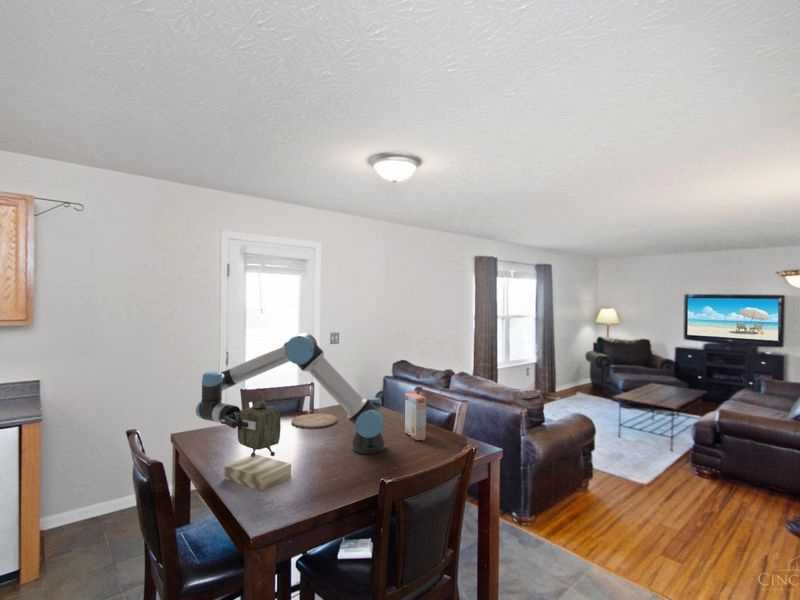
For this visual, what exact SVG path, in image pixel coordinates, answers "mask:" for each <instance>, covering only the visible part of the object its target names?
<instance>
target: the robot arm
mask: <svg viewBox="0 0 800 600" xmlns="http://www.w3.org/2000/svg"><path fill="white" fill-rule="evenodd" d="M324 355H325V352H324V351H323V349H322V348H321V347H320V346H319V345H318V343H317V339H316V338H315V337H314V336H313V335H312V334H310V333H307V332H304V333H299V334H295V335H293V336H291V338H290V339H289V340H287V341H285V342H284V343H283V345H282V346H279V347H277V348H275V349H272V350H271V351H268V352H265V353H263V354H260V355H258V356H257V357H255V358H252V359H250V360H247V361H244V362H243V363H240V364H238V365H235V366H233V367H230V368H229V369H227V370H224V371H221V372H220V371H208V372H204V373H203V374H202V378H201V379H202V380H201V401H200V402H198V404H197V406H196V407H195V414H196V416H197V417H198V418H200V419H203V420H205V421H209V422H210V421H211V422H215V423H219V424H221V425H226V426H228V427H229V428H231V429H236V428H237V430H238V429H241V427H243V428H247V429H252V430H256V422H254V421H249V420H241V419H240V418H238V417H239V413H240V412H241V411H242V410H243V409H242V410H241V409H240V407H239V406H238V405H234V404H229V403H222V398H223V392H224V391H225V390H227V389H229V388H231V387H234V386H236V385H238V384H240V383H242V382H245V381H247V380H250V379H253V378H254V377H256V376H259V375H261V374H263V373H266V372H268V371H271V370H273V369H275V368H278V367H280V366H282V365H284V364H287V363H289V362H291V363H293V364H294V365H296V366H298V368H299V369H300V370H301V371H303V372H308V373H309V374H310V375H311V376H312V377H313V378H314V379H315V380H316V381H317V382H318V383H319V384H320V386H322V388H323V389H324V390H325V391H326V392H327V393H328V394H329V395H330V396H331V397H332V398H333V399H334V400H335V401H336V402H337V403H338V404H339V405H340V406H341V408H342V409H344V410H345V412H346V413H347V417H346V419H348V420H349V421H350V423H352V424H353V426H354V427H355V434H354V436H353V439H352V443H351V450H352V451H353V452H355V453H358V454H361V455H362V454H363V455H370V454H371V455H372V454H373V453H374V454H377V453H381V452H383V451H384V450H385V448H386V443H385V440H384V436H383V433H382V431H383V429H384V425H385V424H384V422H385V421H384V416H383V412H382V405H383V402H382V399H381V398H379V397H362V396H361V395H360V394H359V393H358V392H357V391H356V390H355V389H354V388H353V386H352V385H351V384H350V383H348V381H347V380H346V379H345V378H344V377H343V376H342V375H341V374H340V373H339V372H338V370H337V369H336V368H335V367H334V366H332V364H331V363H330V362H329V361H328V360H327V359H326V358H325V356H324ZM382 450H383V451H382ZM380 451H381V452H380ZM374 454H373V455H374Z"/></svg>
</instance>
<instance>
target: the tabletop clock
mask: <svg viewBox="0 0 800 600" xmlns="http://www.w3.org/2000/svg"><path fill="white" fill-rule="evenodd" d="M257 391H260V392H262V393H263V394H264V397H262V396H261V395H259V396H257V395H256V392H257ZM253 396H254V398H255V399H257V401H254V403H253V404H252V405H251V406H250V407H247V408H243V409H242V411H241V412H240V413H239V417H238V418H240V419H241V420H249V421H254V422H256V430H252V429H247V428H243V427H241V429H238V428H237V439H238V440H237V441H238V443H239V444H240V445H241V446H245V447H247V448H249V449H252V452H251V454H250V456H251V457H255V454H256V450H262V449H267V450H268V451H269V452H270V456H271V457H275V454H276V453H275V452H274V451H273V450H272V449H271V447H272V446H275V445H278V444H279V442H280V438H281V426H282V425H281V423H282V422H281V415H280V410H279V409H278V408H276V407H274V406H271V405H268V404H267V402H266V401H265V399H266V398H267V394H266V390H264V389H262V388H256V389H255V390H254V392H253Z"/></svg>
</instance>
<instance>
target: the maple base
mask: <svg viewBox="0 0 800 600" xmlns="http://www.w3.org/2000/svg"><path fill="white" fill-rule="evenodd" d="M223 469H224V470H223V471H224V475H223V476H224V477H223V479H224V480H225V479H227V480H226V481H228V480H230V481H229V482H231V481H233V482H232V483H234V482H236V483H235V484H237V483H238V485H240V484H241V485H240V486H243V485H244V487H246V486H247V487H246V488H249V487H250V489H252V488H253V489H252V490H255V489H256V490H257V491H259V492H263V491H266V490H268V489H270V488H272V487H274V486H276V485H278V484H280V483H282V482H284V481H286V480H288V479H290V478H291V477H292V463H290V462H286V461H281V460H278V459H275V458H274V459H273V458H271V457H267V456H263V455H260V454H256V453H255V457H251V455H249V456H246V457H243V458H240V459H239V460H235V461H234V462H231V463H227V464H226V465H224V468H223ZM256 490H255V491H256Z"/></svg>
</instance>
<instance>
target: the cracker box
mask: <svg viewBox="0 0 800 600" xmlns="http://www.w3.org/2000/svg"><path fill="white" fill-rule="evenodd" d="M404 395H405V399H404V401H405V403H404V404H405V405H404V407H405V408H404V411H405V415H404V421H405V422H404V434H405V433H407V434H408V435H410V436H411V437H412V438H414V439H415V440H419V439H426V440H427V397H425V396H423V395H420V394H418V393H417V392H406V393H405V394H404ZM407 434H406V435H407ZM408 435H407V436H408ZM411 437H410V438H411ZM412 438H411V439H412ZM414 439H413V440H414ZM415 440H414V441H415Z"/></svg>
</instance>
